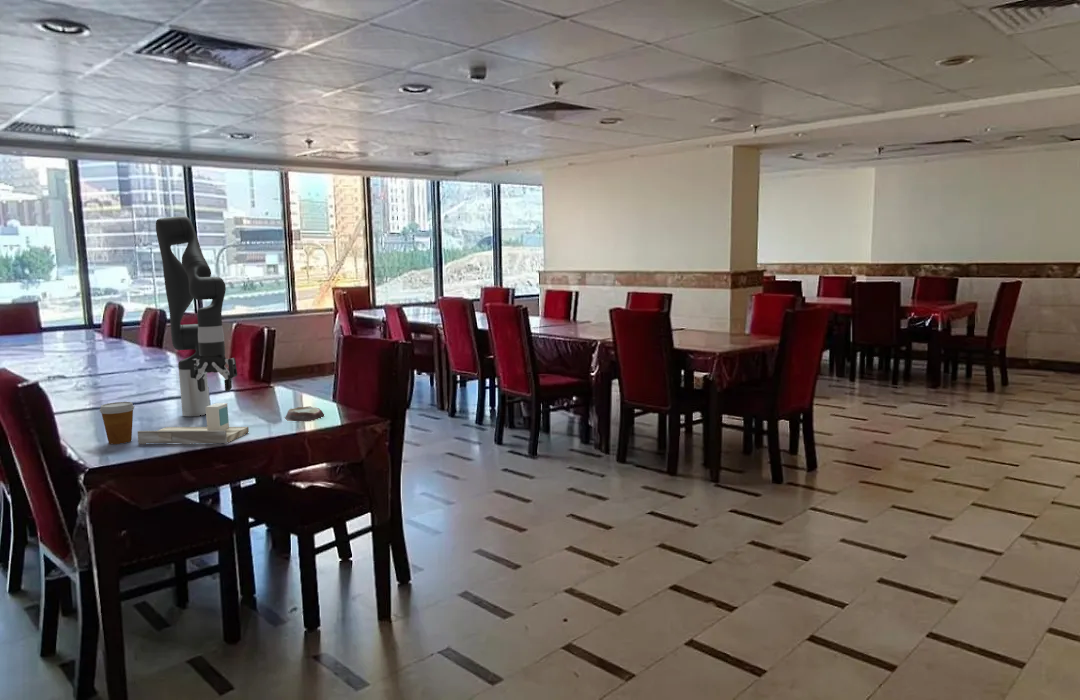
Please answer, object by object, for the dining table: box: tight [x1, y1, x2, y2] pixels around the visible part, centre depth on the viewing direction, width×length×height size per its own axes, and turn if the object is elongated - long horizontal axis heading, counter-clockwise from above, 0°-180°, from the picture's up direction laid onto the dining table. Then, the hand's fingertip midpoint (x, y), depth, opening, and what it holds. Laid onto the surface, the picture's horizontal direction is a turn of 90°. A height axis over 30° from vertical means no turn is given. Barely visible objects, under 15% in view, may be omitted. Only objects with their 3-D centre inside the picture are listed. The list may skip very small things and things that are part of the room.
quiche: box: [284, 406, 325, 422], centre depth 264 cm, size 21×20×4 cm
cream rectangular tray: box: [136, 426, 250, 445], centre depth 235 cm, size 15×28×4 cm, turn 85°
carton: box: [205, 402, 230, 431], centre depth 238 cm, size 6×4×8 cm
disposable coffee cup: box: [99, 401, 135, 445], centre depth 232 cm, size 10×10×12 cm
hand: (215, 391), depth 237 cm, fingers open, 8 cm apart
